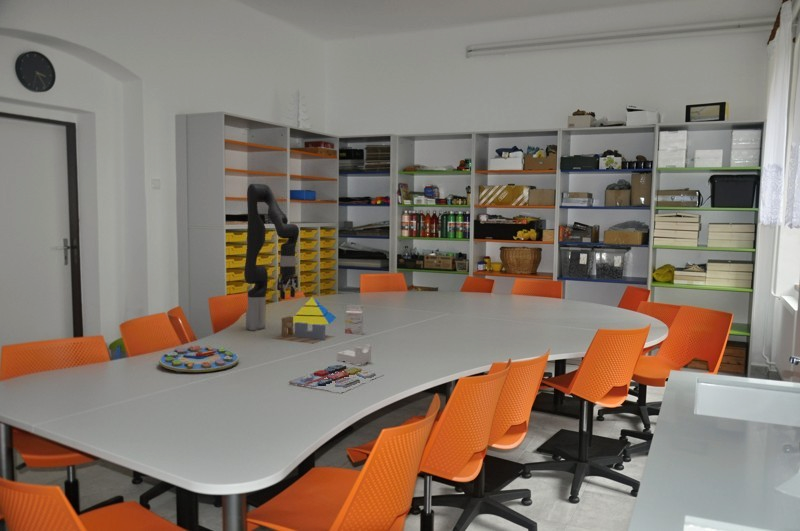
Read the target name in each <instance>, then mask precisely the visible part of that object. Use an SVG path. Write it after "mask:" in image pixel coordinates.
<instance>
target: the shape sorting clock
mask: <svg viewBox="0 0 800 531" xmlns="http://www.w3.org/2000/svg"><path fill="white" fill-rule="evenodd" d="M239 359H240V357H239V355H238V353H236V352H234V351H232V350H229V349H226V348H225V347H212V346H211V345H207V346H205V347H203V346H202V347H201V346H199V345H191V346H189V347H187V348H186V347H179V348H178V347H177V348H174V350H172V351H169V352H168V351H167V352H165V353H163V355H161V356H160V357H159V358H158V363H159V365H160V366H161V367H163V368H165V369H167V370H171V371H175V373H177V374H178V373H205V372H214V371H220V370H224V369H230V368H231V369H232V366H235V365H236V364H238V362H239V361H240V360H239Z"/></svg>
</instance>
